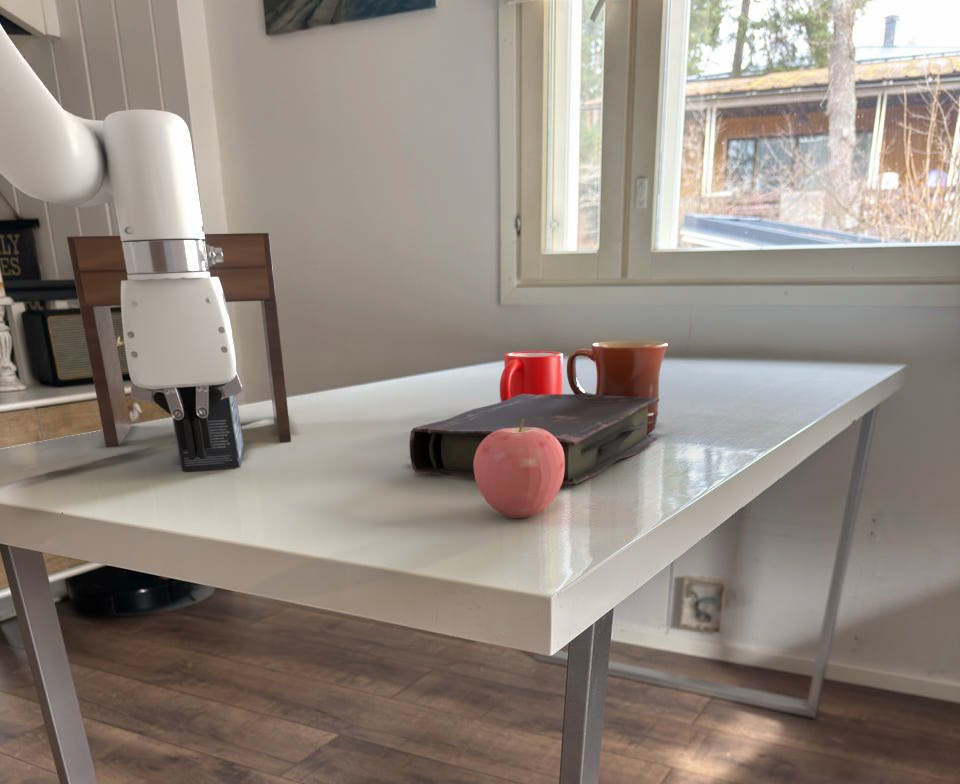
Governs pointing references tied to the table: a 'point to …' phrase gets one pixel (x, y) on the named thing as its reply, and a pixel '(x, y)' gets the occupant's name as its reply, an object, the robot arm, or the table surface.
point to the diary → (568, 417)
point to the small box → (215, 434)
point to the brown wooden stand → (101, 288)
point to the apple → (519, 470)
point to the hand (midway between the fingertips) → (197, 456)
